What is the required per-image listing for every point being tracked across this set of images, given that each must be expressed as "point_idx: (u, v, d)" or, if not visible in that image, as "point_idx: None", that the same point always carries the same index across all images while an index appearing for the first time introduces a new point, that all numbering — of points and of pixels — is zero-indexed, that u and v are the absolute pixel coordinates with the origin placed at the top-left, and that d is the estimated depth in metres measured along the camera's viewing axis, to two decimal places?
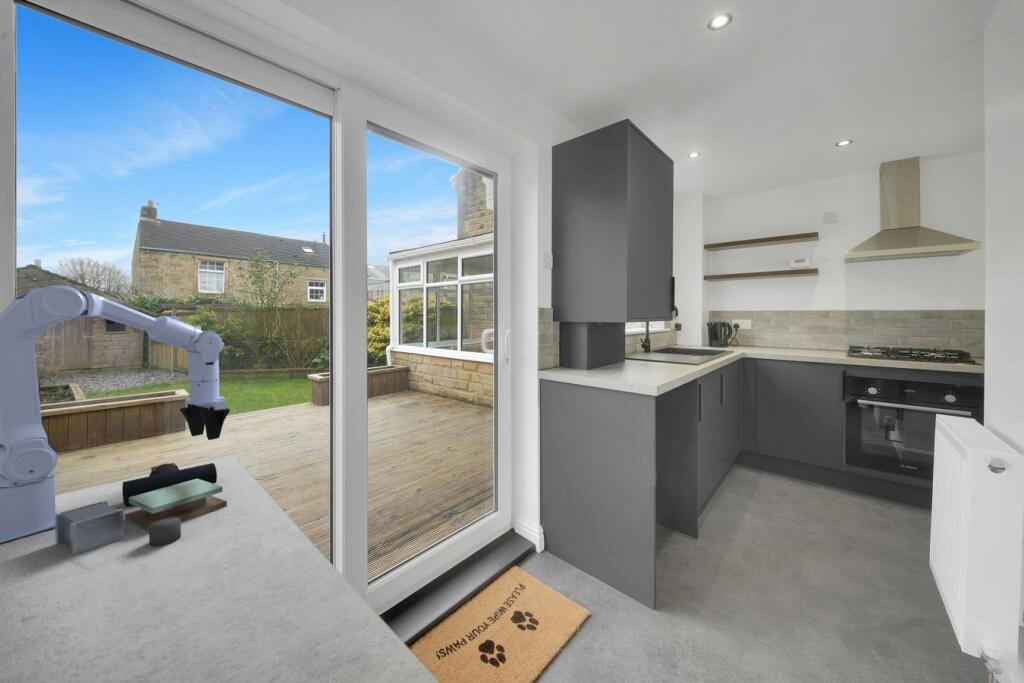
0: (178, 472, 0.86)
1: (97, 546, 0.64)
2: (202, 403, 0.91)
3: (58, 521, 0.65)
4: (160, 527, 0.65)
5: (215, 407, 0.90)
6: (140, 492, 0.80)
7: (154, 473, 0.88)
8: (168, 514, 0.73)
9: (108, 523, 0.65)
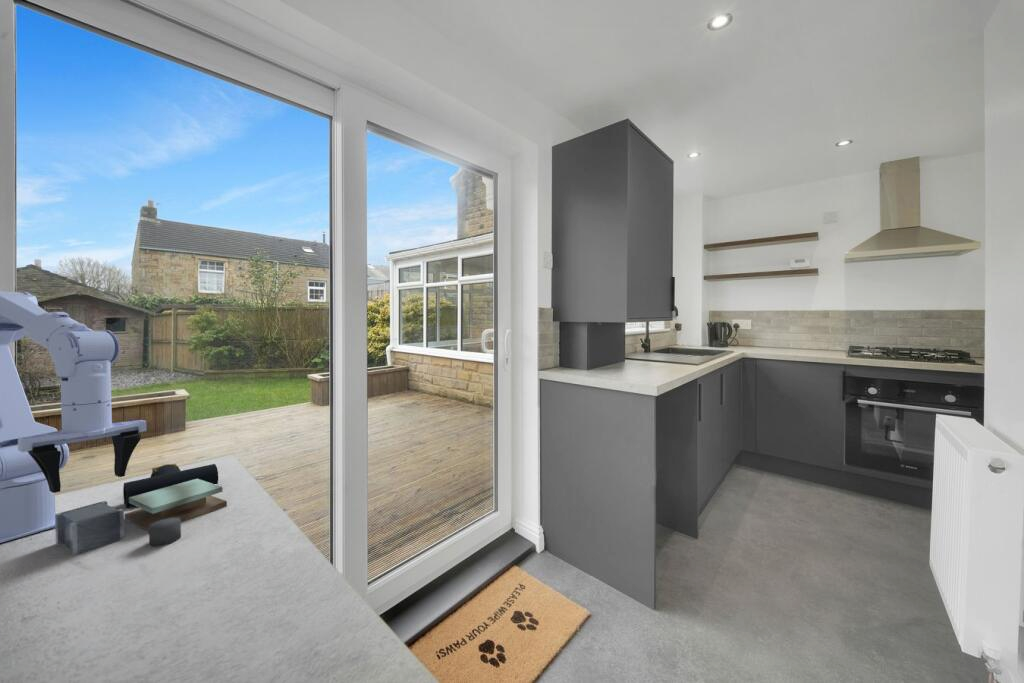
0: (179, 473, 0.86)
1: (97, 546, 0.64)
2: None
3: (58, 521, 0.65)
4: (160, 527, 0.65)
5: None
6: (141, 493, 0.80)
7: (155, 474, 0.87)
8: (168, 514, 0.73)
9: (108, 523, 0.65)
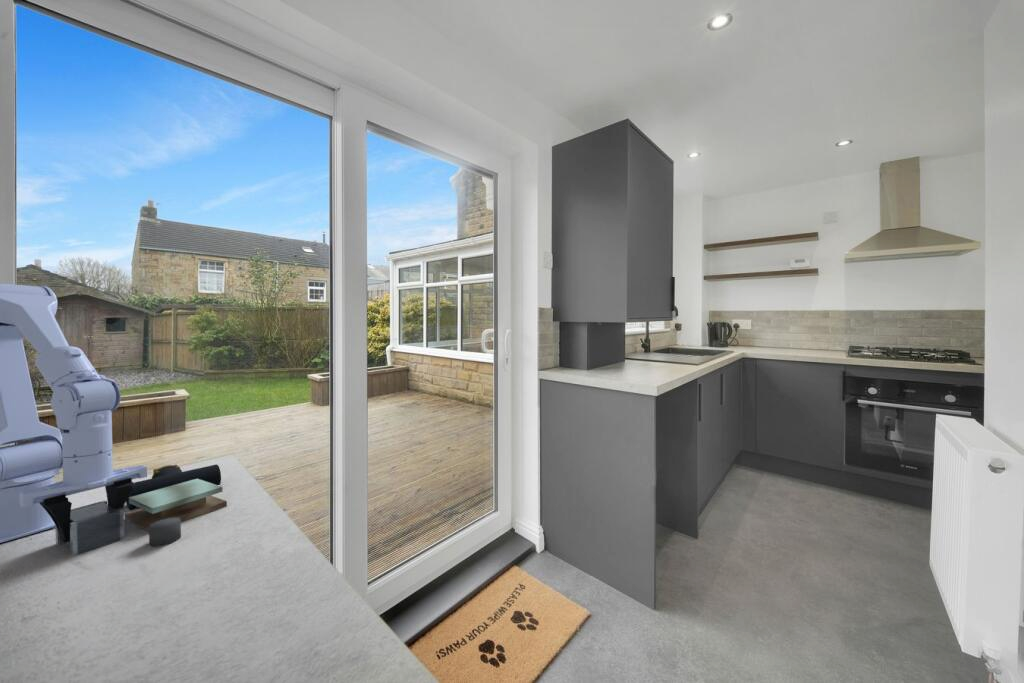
0: (182, 474, 0.85)
1: (97, 546, 0.64)
2: None
3: None
4: (160, 527, 0.65)
5: None
6: None
7: (157, 475, 0.87)
8: (168, 514, 0.73)
9: (108, 523, 0.65)
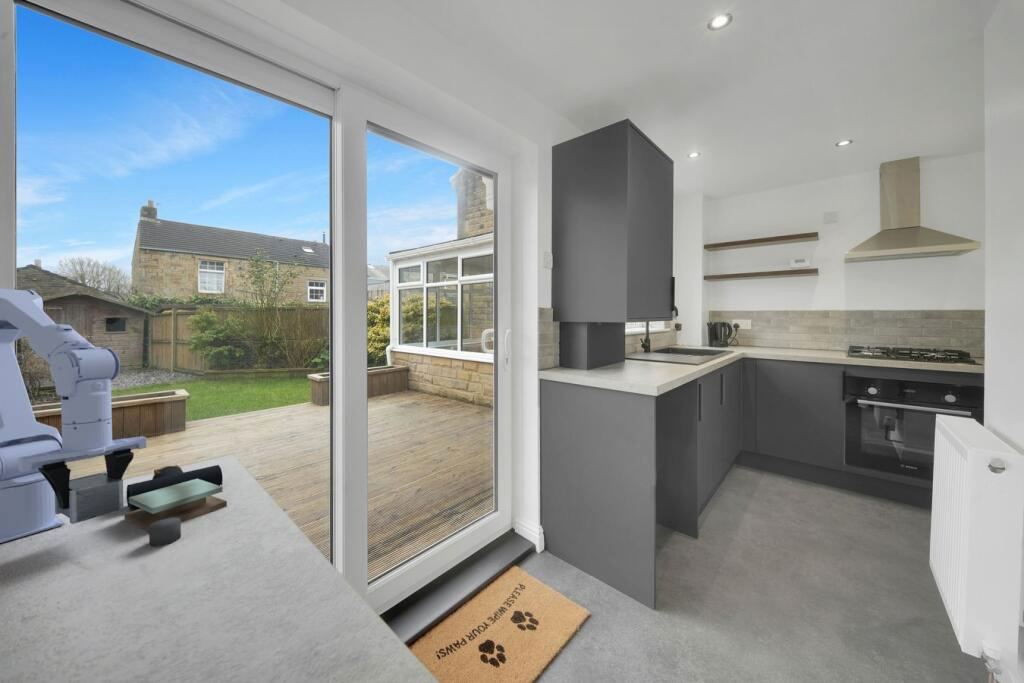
0: (183, 474, 0.85)
1: (96, 515, 0.64)
2: None
3: None
4: (160, 527, 0.65)
5: None
6: None
7: (158, 476, 0.86)
8: (168, 514, 0.73)
9: (107, 492, 0.65)
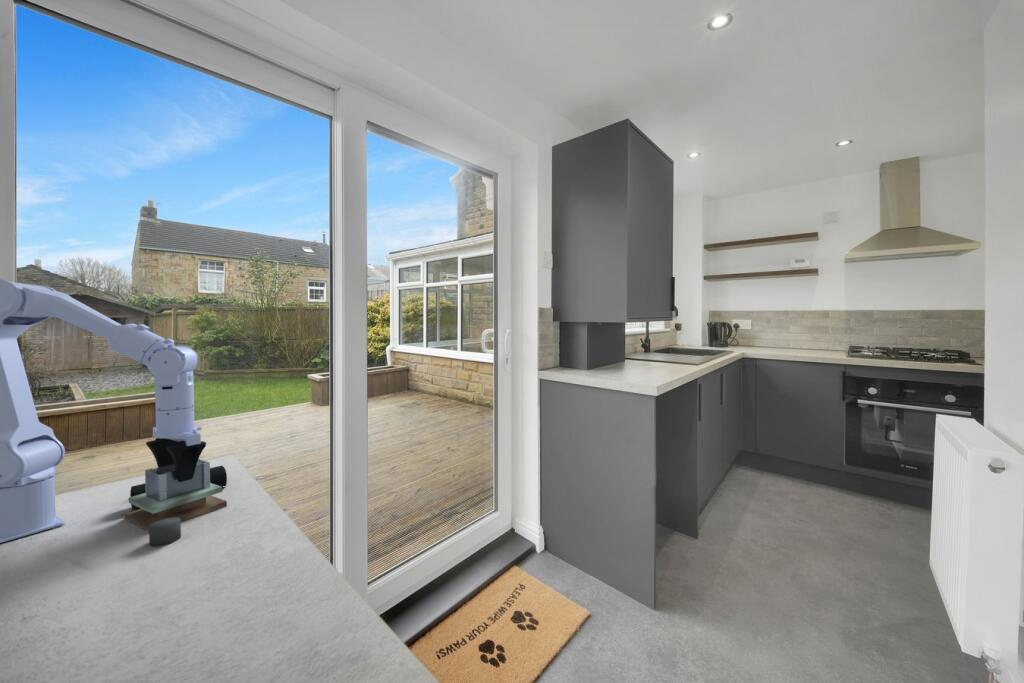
0: None
1: None
2: (171, 437, 0.73)
3: (166, 478, 0.73)
4: (160, 527, 0.65)
5: (187, 442, 0.72)
6: None
7: None
8: (168, 514, 0.73)
9: None
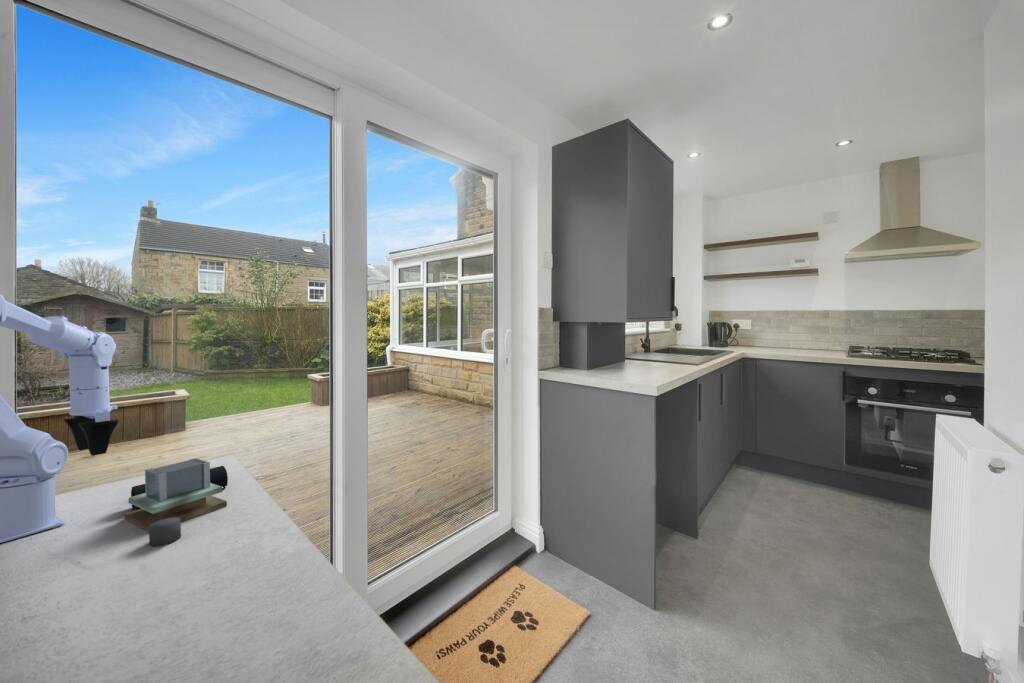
0: None
1: None
2: (82, 414, 0.80)
3: (166, 478, 0.73)
4: (160, 527, 0.65)
5: (96, 419, 0.79)
6: None
7: None
8: (168, 514, 0.73)
9: None
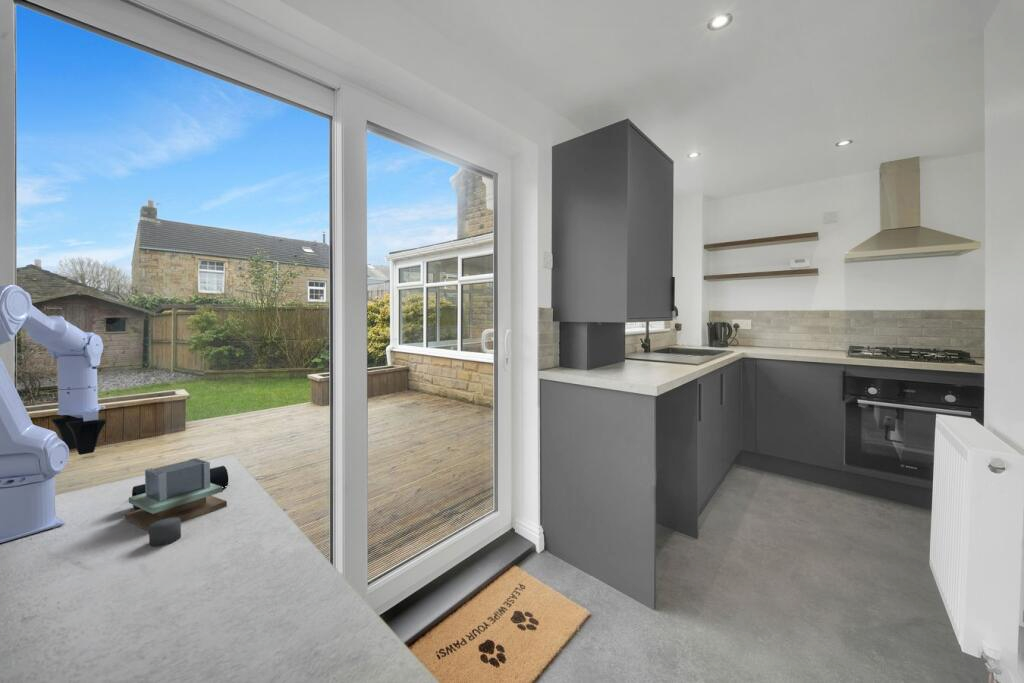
0: None
1: None
2: (71, 413, 0.81)
3: (166, 478, 0.73)
4: (160, 527, 0.65)
5: (84, 418, 0.80)
6: None
7: None
8: (168, 514, 0.73)
9: None
